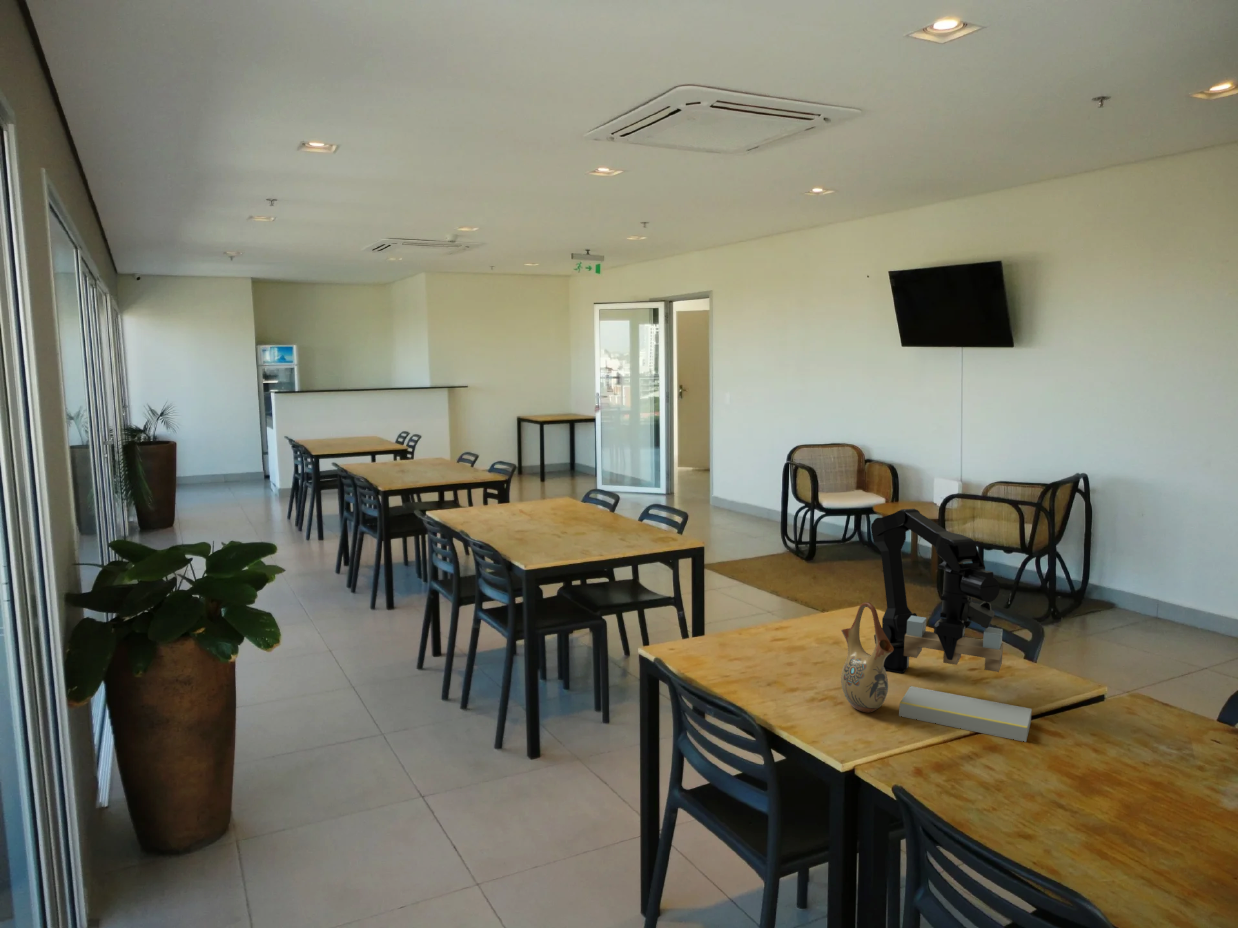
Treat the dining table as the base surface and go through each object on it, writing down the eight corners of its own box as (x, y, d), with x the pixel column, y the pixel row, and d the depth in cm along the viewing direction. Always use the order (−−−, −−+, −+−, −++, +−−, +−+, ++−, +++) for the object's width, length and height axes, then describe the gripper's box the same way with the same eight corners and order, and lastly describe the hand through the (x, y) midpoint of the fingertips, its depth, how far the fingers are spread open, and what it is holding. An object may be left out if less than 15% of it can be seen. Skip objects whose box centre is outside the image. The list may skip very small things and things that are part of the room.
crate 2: (982, 647, 200) (983, 632, 200) (985, 641, 204) (986, 626, 204) (999, 649, 198) (1000, 634, 198) (1001, 643, 203) (1002, 629, 202)
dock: (899, 715, 196) (899, 702, 195) (909, 698, 206) (910, 685, 206) (1026, 741, 183) (1027, 727, 182) (1030, 721, 193) (1031, 708, 193)
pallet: (903, 655, 208) (904, 635, 208) (909, 648, 214) (910, 628, 213) (998, 672, 198) (1000, 650, 198) (1001, 663, 204) (1003, 642, 203)
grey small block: (906, 634, 208) (907, 620, 208) (910, 629, 213) (911, 615, 212) (921, 637, 207) (922, 622, 206) (925, 631, 211) (926, 617, 210)
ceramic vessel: (825, 698, 205) (829, 594, 202) (856, 693, 209) (861, 591, 206) (870, 725, 190) (875, 614, 187) (903, 719, 194) (909, 610, 191)
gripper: (988, 605, 192) (983, 673, 194) (998, 587, 208) (993, 650, 210) (935, 598, 197) (931, 664, 199) (948, 580, 214) (945, 642, 215)
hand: (952, 655), depth 206 cm, fingers closed on pallet, 6 cm apart
